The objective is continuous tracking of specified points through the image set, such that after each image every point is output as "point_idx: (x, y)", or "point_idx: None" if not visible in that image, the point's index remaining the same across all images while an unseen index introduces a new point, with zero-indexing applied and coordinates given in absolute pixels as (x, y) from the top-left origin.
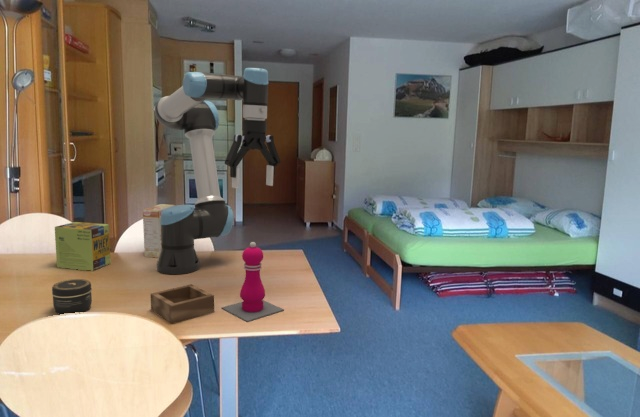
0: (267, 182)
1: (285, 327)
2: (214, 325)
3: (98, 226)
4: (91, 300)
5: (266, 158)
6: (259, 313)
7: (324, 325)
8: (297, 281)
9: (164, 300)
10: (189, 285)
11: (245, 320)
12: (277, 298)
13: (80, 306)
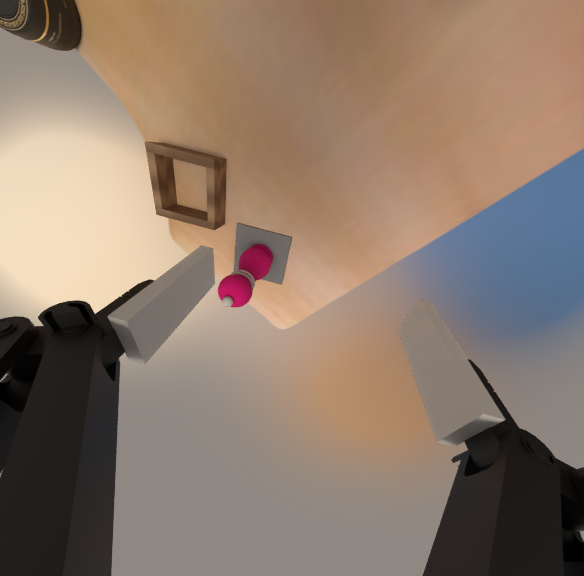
0: (417, 317)
1: (252, 303)
2: None
3: None
4: (69, 30)
5: (479, 510)
6: None
7: (278, 326)
8: (392, 239)
9: (154, 189)
10: (208, 162)
11: (234, 268)
12: (309, 257)
13: (55, 49)
